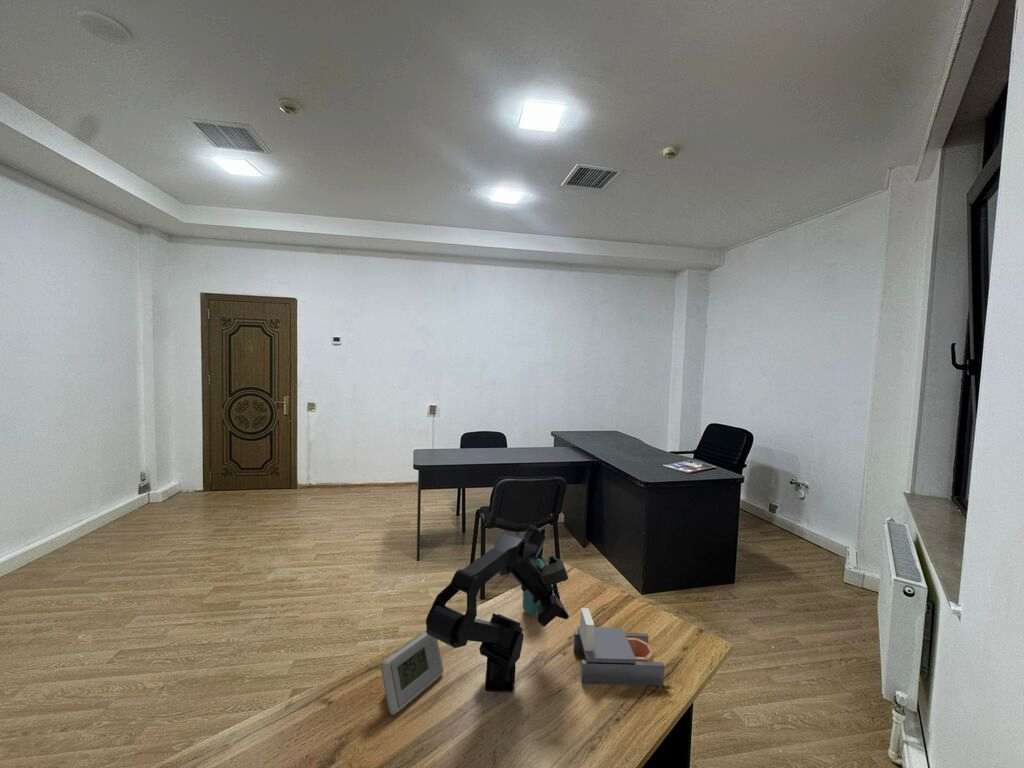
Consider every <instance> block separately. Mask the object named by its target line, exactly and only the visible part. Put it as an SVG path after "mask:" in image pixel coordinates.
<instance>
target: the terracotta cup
mask: <svg viewBox="0 0 1024 768" xmlns="http://www.w3.org/2000/svg"><path fill="white" fill-rule="evenodd" d="M627 640H628V642H629V644H630V647H631V649H632V651H633V653H634V655H635V657H636V661H641V662H654V656H655V653H654V651H653V649H652V647H651V645H650V644H649V642H648V643H646V642H644V641H642V640H640V639H638V638H627Z"/></svg>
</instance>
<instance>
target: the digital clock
mask: <svg viewBox="0 0 1024 768" xmlns="http://www.w3.org/2000/svg"><path fill="white" fill-rule="evenodd" d="M441 655H442V654H441V651H440V647H439V640H438V639H436V638H434V637H432V636H430V635H428V634H427V633H426V630H425V631H423V632H421V633H419V634H418V635H416V636H415V637H413V638H411V640H409V641H407V642H406V643H405V644H403V645H401V647H398V649H396V650H395V651H394V652H393V653H391V654H390V655H389V656H387V657H386V658H385V659H383V660H382V661H381V663H380V670H381V676H382V680H383V681H382V682H383V686H384V693H385V697H386V703H387V708H388V713H390V715H391V716H394V715H396V714H397V713H398V712H400V711H401V710H403V709H404V708H406V707H407V706H408V705H409V704H410V703H412V701H414V700H415V699H416V698H418V696H420V695H421V694H422V693H423V692H424V691H425V690H427V689H428V688H429V687H430V686H432V684H434V682H436V680H438V679H439V678H440V677H441V676H442V675H443V673H444V666H443V660H442V656H441ZM413 699H414V700H413ZM408 703H409V704H408ZM407 704H408V705H407ZM406 705H407V706H406Z"/></svg>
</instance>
